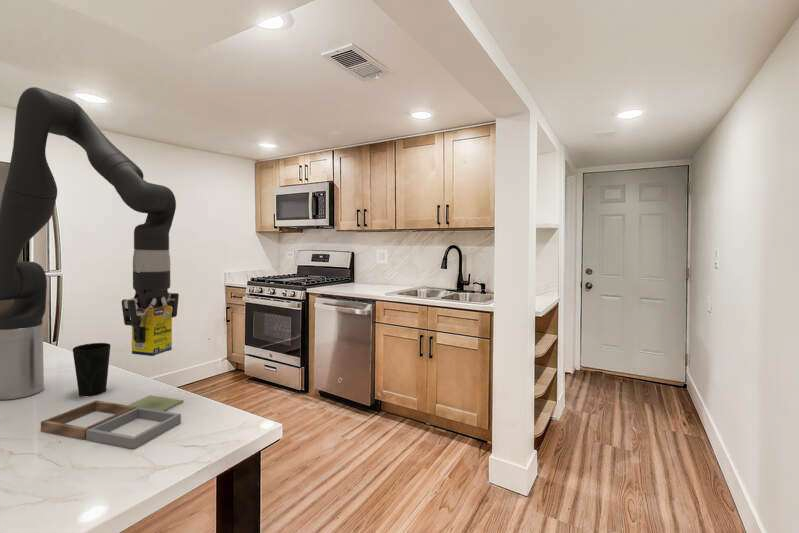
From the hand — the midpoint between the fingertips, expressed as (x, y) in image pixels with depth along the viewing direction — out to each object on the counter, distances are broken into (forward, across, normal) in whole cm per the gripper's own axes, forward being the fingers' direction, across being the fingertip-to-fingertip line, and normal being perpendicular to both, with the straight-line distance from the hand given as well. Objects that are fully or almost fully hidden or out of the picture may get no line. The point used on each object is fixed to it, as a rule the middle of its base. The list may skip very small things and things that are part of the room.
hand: (152, 339), depth 94 cm
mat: (+16, 0, 0) cm, 16 cm away
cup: (+17, -2, -21) cm, 27 cm away
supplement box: (+3, 0, 0) cm, 3 cm away
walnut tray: (+16, +11, -5) cm, 20 cm away
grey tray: (+16, +11, +7) cm, 21 cm away
